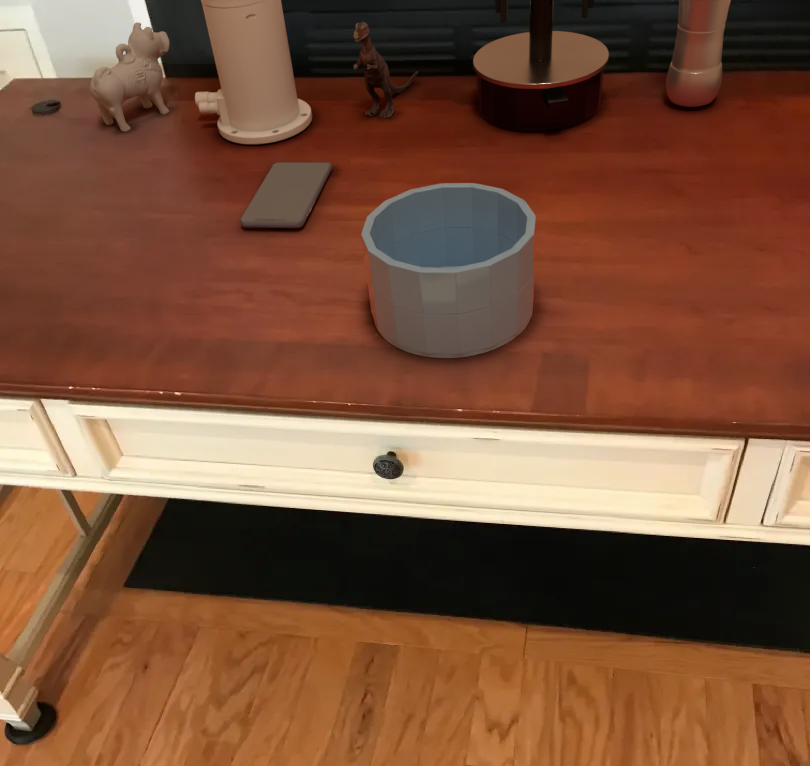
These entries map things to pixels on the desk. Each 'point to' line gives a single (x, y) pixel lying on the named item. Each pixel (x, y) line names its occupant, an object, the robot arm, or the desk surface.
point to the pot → (450, 268)
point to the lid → (541, 55)
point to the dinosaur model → (376, 72)
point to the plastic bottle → (697, 53)
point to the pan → (539, 105)
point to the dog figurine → (132, 75)
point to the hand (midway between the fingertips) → (544, 16)
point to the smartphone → (286, 195)
